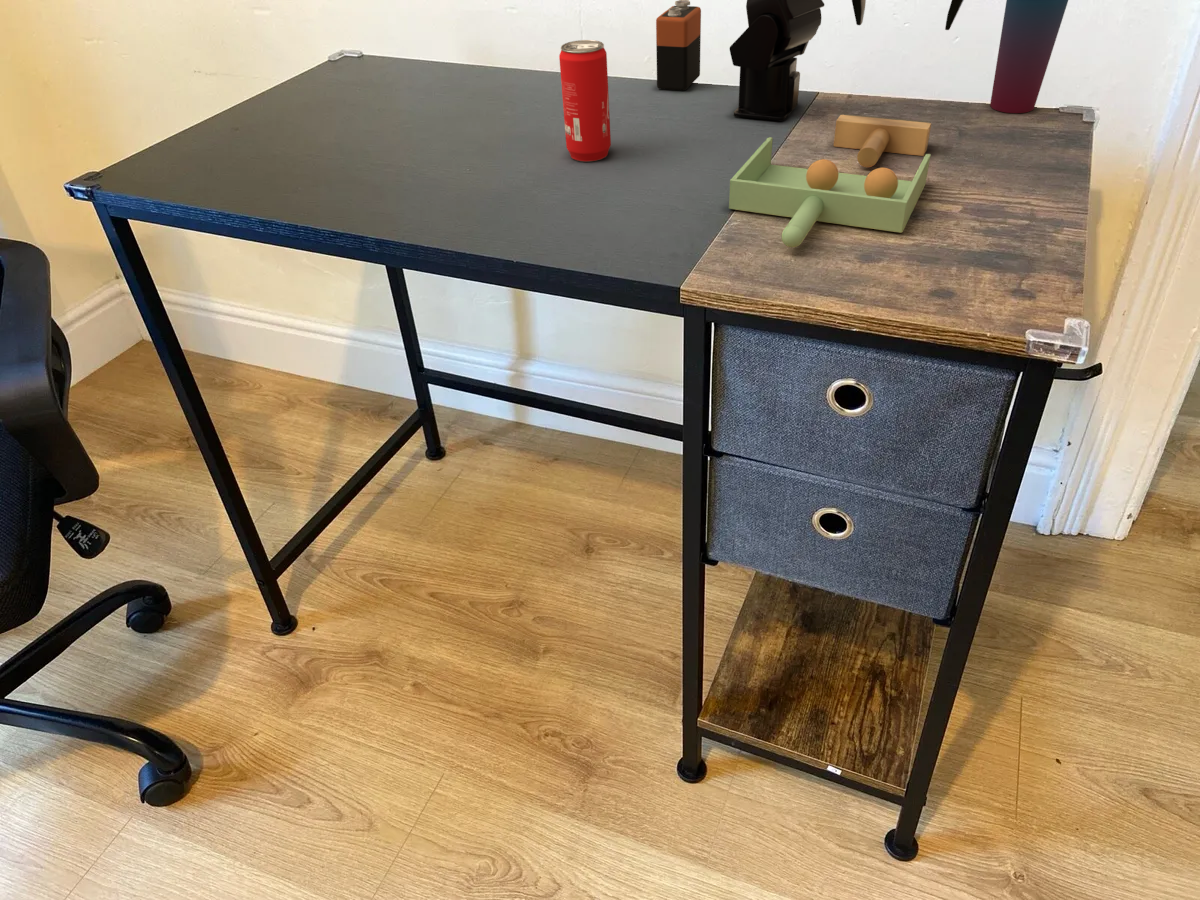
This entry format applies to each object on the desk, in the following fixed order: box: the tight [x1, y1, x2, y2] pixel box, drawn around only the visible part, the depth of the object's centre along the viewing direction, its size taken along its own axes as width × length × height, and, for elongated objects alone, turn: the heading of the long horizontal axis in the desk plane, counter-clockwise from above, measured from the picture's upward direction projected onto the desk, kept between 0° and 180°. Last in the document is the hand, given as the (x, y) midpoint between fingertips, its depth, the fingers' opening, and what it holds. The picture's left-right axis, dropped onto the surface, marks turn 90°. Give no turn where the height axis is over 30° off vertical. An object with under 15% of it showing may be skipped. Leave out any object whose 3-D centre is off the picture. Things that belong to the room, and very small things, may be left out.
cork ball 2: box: [864, 167, 899, 198], centre depth 87 cm, size 3×3×3 cm
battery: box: [655, 0, 702, 91], centre depth 119 cm, size 4×7×10 cm, turn 158°
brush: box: [833, 113, 932, 168], centre depth 96 cm, size 10×3×9 cm
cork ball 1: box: [806, 158, 839, 190], centre depth 90 cm, size 3×3×3 cm
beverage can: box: [558, 39, 612, 163], centre depth 99 cm, size 5×5×12 cm
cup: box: [989, 0, 1069, 114], centre depth 102 cm, size 7×7×15 cm
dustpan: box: [728, 136, 931, 249], centre depth 86 cm, size 20×17×3 cm
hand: (902, 26), depth 94 cm, fingers open, 9 cm apart
